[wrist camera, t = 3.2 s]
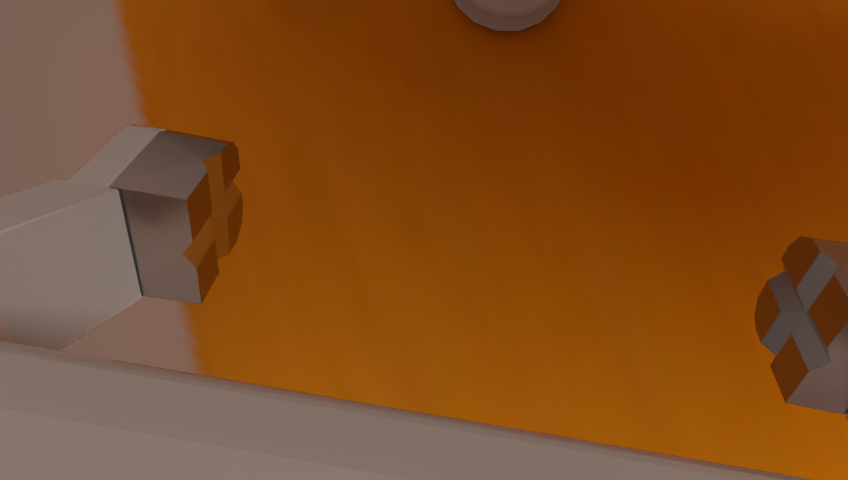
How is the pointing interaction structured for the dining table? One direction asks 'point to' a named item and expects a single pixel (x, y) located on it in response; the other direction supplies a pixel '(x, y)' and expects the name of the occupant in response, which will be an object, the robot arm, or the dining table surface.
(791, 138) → the dining table surface
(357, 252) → the dining table surface
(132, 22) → the dining table surface
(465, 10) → the rook chess piece
